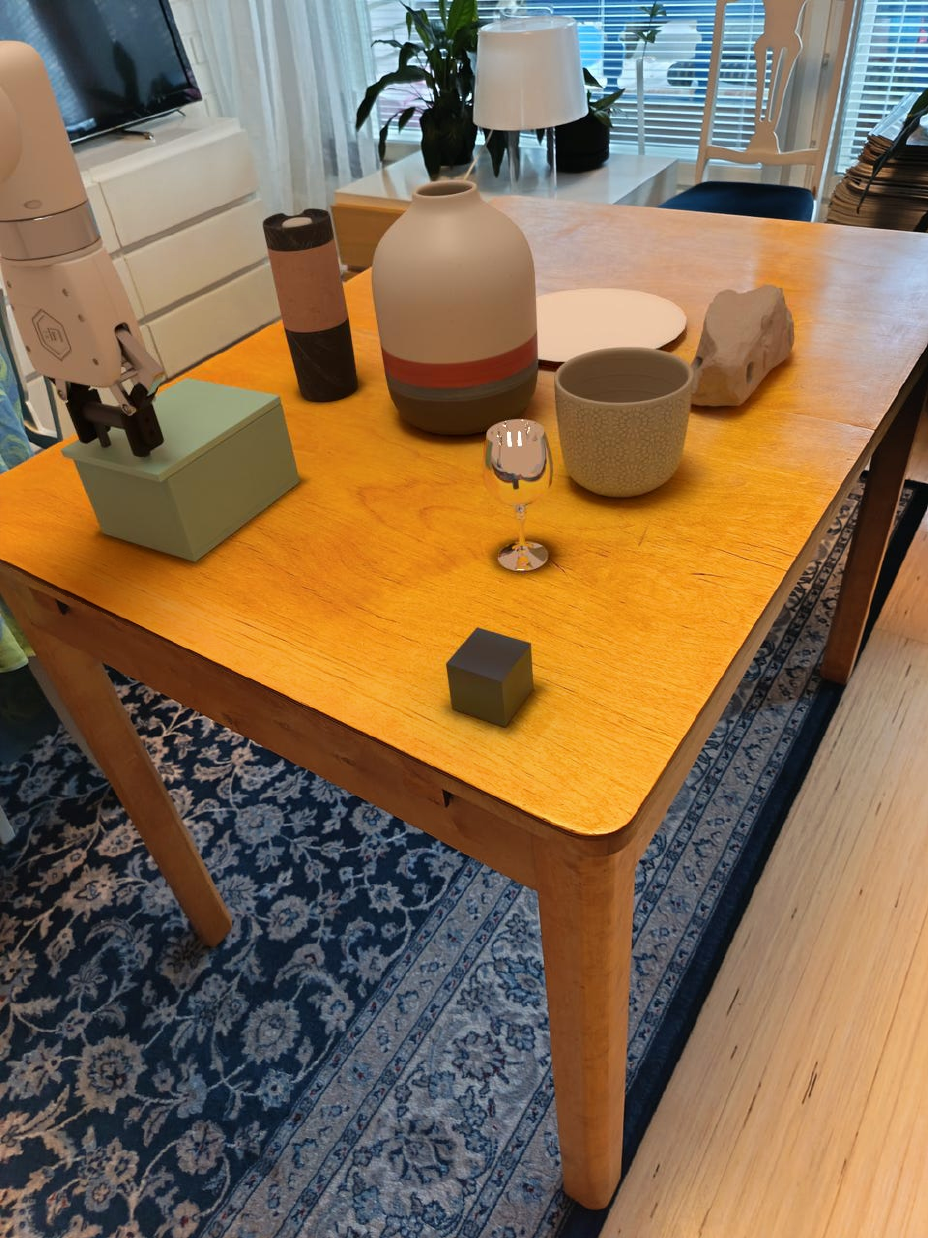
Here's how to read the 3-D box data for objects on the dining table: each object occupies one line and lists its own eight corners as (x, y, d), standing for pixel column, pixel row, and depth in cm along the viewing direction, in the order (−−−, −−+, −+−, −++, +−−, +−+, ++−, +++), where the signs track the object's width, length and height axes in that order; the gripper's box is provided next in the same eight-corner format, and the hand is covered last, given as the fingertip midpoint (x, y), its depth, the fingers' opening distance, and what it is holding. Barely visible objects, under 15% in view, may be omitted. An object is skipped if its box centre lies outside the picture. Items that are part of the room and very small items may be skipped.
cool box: (195, 562, 83) (167, 478, 78) (102, 533, 89) (70, 453, 84) (300, 482, 94) (281, 403, 88) (210, 460, 99) (188, 385, 94)
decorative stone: (733, 427, 94) (743, 334, 88) (666, 413, 98) (671, 323, 92) (799, 354, 107) (812, 268, 100) (738, 345, 110) (746, 261, 104)
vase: (561, 387, 106) (555, 166, 91) (506, 455, 94) (490, 214, 79) (431, 374, 112) (406, 165, 97) (365, 436, 100) (325, 210, 85)
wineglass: (569, 552, 79) (566, 427, 72) (527, 583, 76) (519, 456, 69) (519, 531, 83) (511, 409, 75) (476, 560, 80) (464, 437, 72)
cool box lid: (160, 482, 77) (142, 429, 74) (63, 457, 83) (42, 406, 80) (281, 402, 88) (270, 353, 85) (188, 384, 94) (174, 337, 91)
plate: (728, 328, 115) (729, 315, 114) (582, 392, 104) (582, 378, 103) (591, 286, 131) (591, 274, 130) (453, 338, 120) (452, 325, 119)
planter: (531, 479, 90) (526, 375, 83) (623, 436, 95) (625, 335, 88) (618, 528, 81) (620, 417, 75) (713, 479, 87) (723, 371, 80)
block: (505, 728, 63) (501, 681, 61) (451, 709, 65) (445, 663, 63) (533, 688, 66) (531, 642, 63) (481, 672, 68) (477, 626, 65)
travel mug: (334, 407, 107) (299, 230, 94) (285, 397, 110) (246, 225, 98) (372, 381, 112) (344, 209, 99) (325, 372, 115) (292, 205, 103)
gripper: (-64, 239, 71) (26, 445, 82) (84, 256, 63) (161, 481, 74) (15, 212, 76) (90, 410, 87) (161, 225, 68) (222, 440, 79)
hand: (122, 441), depth 81 cm, fingers closed on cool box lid, 6 cm apart
